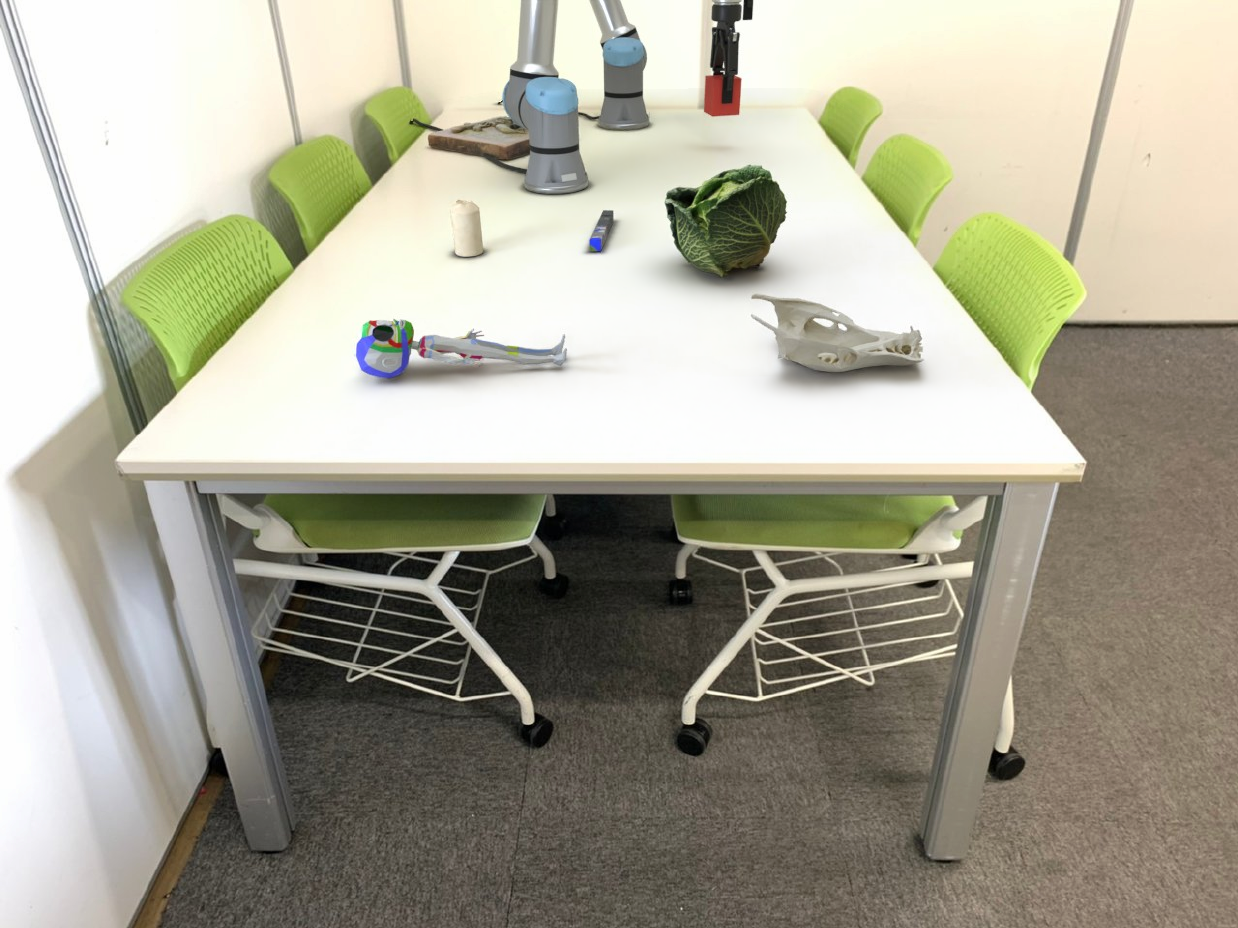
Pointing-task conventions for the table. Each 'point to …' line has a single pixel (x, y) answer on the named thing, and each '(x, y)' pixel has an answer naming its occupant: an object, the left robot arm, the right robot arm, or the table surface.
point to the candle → (466, 228)
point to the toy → (435, 349)
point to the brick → (714, 97)
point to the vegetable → (727, 219)
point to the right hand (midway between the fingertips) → (738, 17)
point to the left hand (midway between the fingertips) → (722, 100)
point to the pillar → (601, 230)
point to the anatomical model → (835, 339)
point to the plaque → (485, 138)
